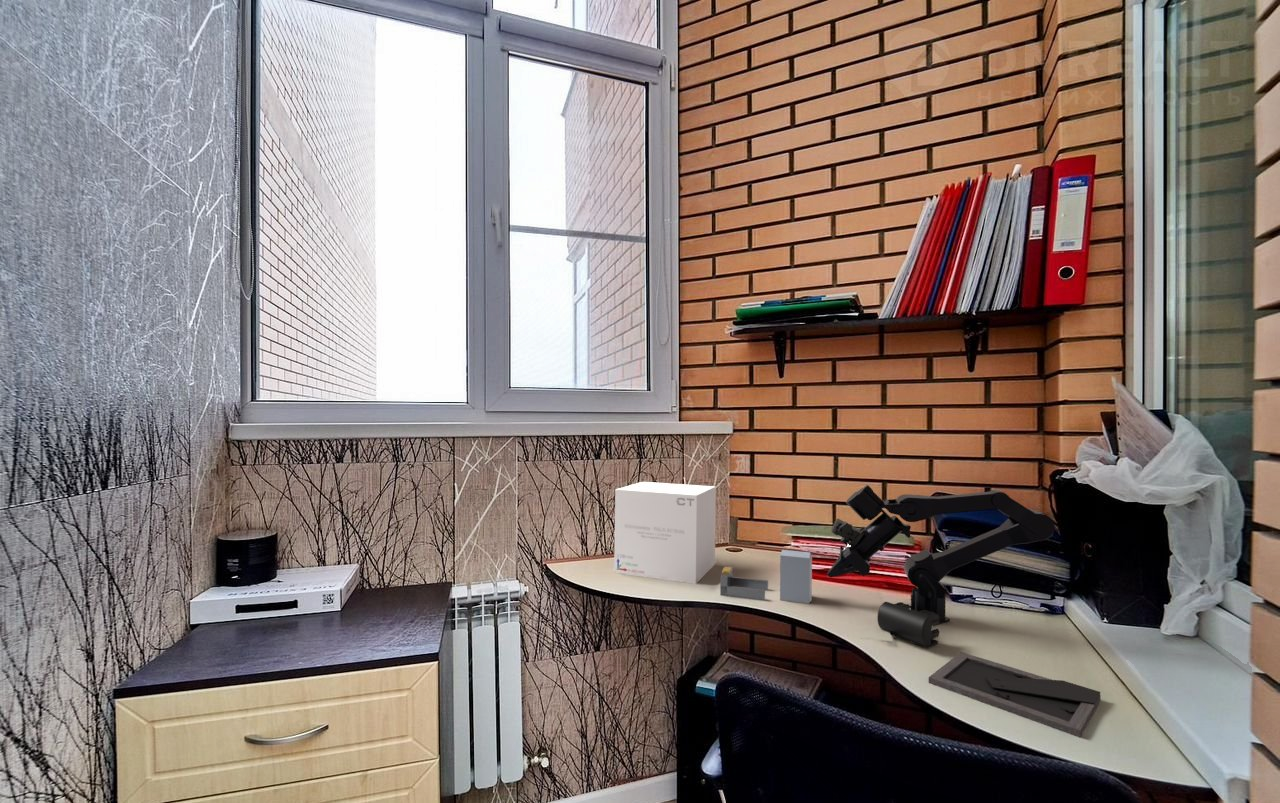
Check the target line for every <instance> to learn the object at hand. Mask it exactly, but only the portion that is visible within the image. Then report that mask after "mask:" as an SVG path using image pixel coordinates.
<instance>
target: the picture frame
mask: <svg viewBox="0 0 1280 803" xmlns="http://www.w3.org/2000/svg"><path fill="white" fill-rule="evenodd" d="M928 684H930V685H932V686H936V687H938V688H941V689H945V690H947V691H950V692H952V693H955V694H958V695H961V696H963V697H967V698H969V699H972V700H975V701H978V702H980V703H983V704H986V705H989V706H991V707H994V708H997V709H1000V710H1003V711H1004V712H1005V711H1006V712H1007V713H1011V714H1014V715H1016V716H1019V717H1021V718H1024V719H1027V720H1030V721H1032V722H1035V723H1039V724H1041V725H1044V726H1047V727H1049V728H1052V729H1055V730H1057V731H1061V732H1063V733H1066V734H1068V735H1071V736H1073V737H1077V738H1081V737H1082V735H1083V733H1084V731H1085V730H1086V728H1087V726H1088V725H1089V722H1090V720H1091V719H1092V717H1093V715H1094V714H1095V712H1096V711H1097V709H1098V706H1099V705H1100V703H1101V701H1102V700H1101V696H1102V695H1101V691H1099V690H1095V689H1092V688H1090V687H1085V686H1082V685H1080V684H1075V683H1073V682H1069V681H1065V680H1060V679H1058V680H1057V679H1052V678H1048V677H1046V676H1045V677H1043V676H1041V675H1038V674H1035V673H1031V672H1028V671H1025V670H1022V669H1019V668H1016V667H1012V666H1008V665H1005V664H1002V663H999V662H996V661H992V660H989V659H986V658H982V657H979V656H975V655H973V654H969V653H965V652H963V651H960V652H959V653H958V654H956V655H955V656H954V657H953V658H952V659H951V658H950V660H949V661H947V662H946V663H945V664H944V665H942V666H941V667H940V668H939V669H937V670H936V671H935V672H933V673H932V674H931V675H929V676H928Z"/></svg>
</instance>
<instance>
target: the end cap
mask: <svg viewBox="0 0 1280 803" xmlns="http://www.w3.org/2000/svg"><path fill="white" fill-rule="evenodd" d="M876 618H877V619H876V620H877V625H878V627H879V628H880V629H881V630H884V631H887V632H889V634H890V635H891V636H893V637H895V638H898V639H900V640H901V639H902V640H904V641H907V642H909V643H912V644H914V645H918V646H920V647H923V648H925V649H930V648H932V647H935V646H937V645H938V644H939V641H938V640H936V638H939V636H940V632H941V631H940V629H939V628H935V629H933V630H932V628H933V626H935V625H939V624H940V623H939V616H938V614H936V613H934V612H930V611H927V610H923V611H914V610H911V604H910V605H909V604H908V603H904V602H903V601H902V602H901V601H900V602H895V603H893V602H889V601H884V602H883V603H882V604H881V605H880V607H879V609H878V611H877V617H876ZM938 623H939V624H938Z"/></svg>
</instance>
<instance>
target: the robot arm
mask: <svg viewBox="0 0 1280 803" xmlns="http://www.w3.org/2000/svg"><path fill="white" fill-rule="evenodd" d="M845 503H846V505H848V506H849V507H850V508H851V509H852V510H853V512H854V513H855V514H856V515H858V517H860V519H861V520H863V521H864V520H867V521H872V522H870V523H869V524H868V525H867V526H861V527H859V528H857V527H855V526H854V525H852V524H851V523H848V522H847V521H844V520H842V519H839V518H836V519H835V521H834V523H833V525H832V528H831V533H832V534H834V535H836V536H839V537H841V538H840V542H841V543H842V544H844V546H842V545H839V556H838V557H837V559H836V561H835V562H834V563H833V564H832V566H831V567H830V569H829V570H828V572H827V573H826V574H827V575H826V576H828V577H829V579H830V578H835V577H839V576H842V575H847V574H851V573H856V572H858V573H859V574H860V575H861V576H862V577H865V576H866V575H867V574H869V573H870V572H871V565H870V562H871V560H872V559H871V558H872V557H873V556H874V555H875V554H877V553H878V552H879V551H880V552H883V551H884V550H885V546H886V545H887V544H888V543H890V542H891V541H892V540H893V539H895V538H896V537H897V536H898V535H900V534H901V533H903V535H905V537H906V538H908V539H909V538H911V527H912V526H911V525H910V524H909V523H916V522H919V521H925V520H929V519H931V518H933V517H936V516H940V515H945V514H957V513H968V512H969V513H970V512H981V511H992V510H998V511H999V512H1000V513H1002V514H1003V515H1004V516H1005V517H1007V519H1006V520H1005V521H1004V522H1003V523H1002V524H1001V525H999V526H998V527H997V528H995V529H992V530H990V531H987V532H985V533H982V534H980V535H978V536H975V537H973V538H971V539H967V540H966V541H964V542H963V541H962V542H961V543H959V544H957V545H954V546H952V547H950V548H947V549H945V550H942V551H940V552H933V553H931V552H930V550H928V548H924V549H922V550H920V551H919V552H918V553H914V554H909V556H910V557H909V558H908V559H906V561H905V563H904V566H903V571H904V574H905V575H906V577H907V579H908V581H909V582H910V583H911V585H913V586H914V587H915V588H912V589H911V590H912V592H911V594H910V606H911V608H910V609H911V610H914V611H923V610H927V611H930V612H934V613H936V614H938V616H939V623H938V624H937V625H939V624H942V623H946V622H950V620H951V618H950V617H948V616H946V594H947V589H946V587H945V586H944V585H943V583H942V582H941V581H942V580H943V579H944V578H945V577H946V576H947V575H948V574H949V573H951V571H953V570H956V569H957V568H960V567H963V566H965V565H967V564H970V563H972V562H975V561H978V560H979V559H982V558H984V557H987V556H989V555H992V554H994V553H997V552H999V551H1002V550H1004V549H1006V548H1009V547H1011V546H1014V545H1016V546H1017V545H1023V544H1031V543H1037V542H1041V541H1047V540H1048V539H1050V538H1051V537H1052V536H1054V532H1055V529H1056V528H1055V522H1054V521H1053V520H1052V518H1051V517H1049V516H1048V515H1047V514H1044V513H1042V512H1040V511H1037V510H1035V509H1031V508H1027V507H1026V506H1025V505H1023V504H1021V503H1020V502H1018V501H1016V500H1015V499H1013V498H1011V497H1010V496H1009V494H1008V493H1005V492H1003V491H1000V490H997V489H991V490H990V491H983V492H973V493H962V494H951V495H950V494H949V495H941V496H930V495H923V494H921V495H920V494H907V493H906V494H901V495H899V496H897V498H894V499H890V498H889V499H881V498H880V496H879V495H878V494H877V493H876V492H875V491H874V490H873V488H872V487H871V486H870V485H868V484H866V485H865V486H863V487H862V488H860V489H859V490H858V491H855V492H853V494H851V495H850V496H849V498H848V499H847V500H846V501H845ZM884 509H885V510H887V512H888V513H890V514H893V515H892V516H890V515H889V514H888V513H887V512H886V511H885V510H884ZM898 516H899V517H900V518H901V519H902V520H903V521H905V522H908V524H907V523H904V522H903V521H901V520H900V518H899V517H898Z"/></svg>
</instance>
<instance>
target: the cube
mask: <svg viewBox="0 0 1280 803" xmlns="http://www.w3.org/2000/svg"><path fill="white" fill-rule="evenodd" d="M614 492H615V493H614V498H615V499H614V548H613V549H614V552H613V553H614V555H613V556H614V559H613V573H617V574H622V575H629V576H637V577H642V578H643V577H645V578H652V579H657V580H658V579H659V580H665V581H673V582H680V583H681V582H682V583H688V584H694V585H695V584H697V583H698V582H699V581H700V580H701V579H702V578H704V576H705V575H706V574H707V573H708V572H709V571H710V570H711V569H712V568H713V567H714V566H715V565H716V514H717V513H716V510H717V509H716V506H717V505H716V503H717V502H716V500H717V494H716V492H717V487H716V486H713V485H701V484H699V485H697V484H683V483H668V482H667V483H666V482H652V481H640V482H637V483H633V484H630V485H627V486H624V487H623V486H622V487H618V488H615V491H614Z"/></svg>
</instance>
